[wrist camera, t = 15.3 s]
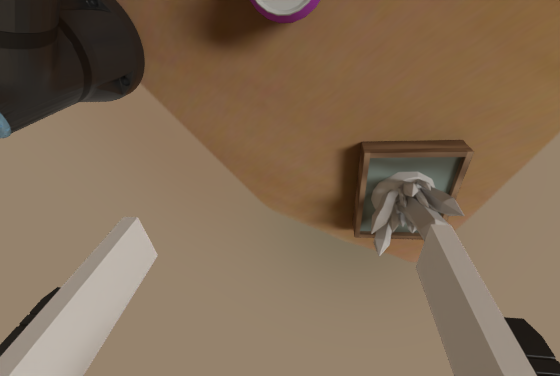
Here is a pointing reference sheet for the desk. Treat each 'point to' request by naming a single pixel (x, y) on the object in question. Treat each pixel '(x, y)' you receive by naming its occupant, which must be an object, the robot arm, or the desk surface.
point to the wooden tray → (407, 158)
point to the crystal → (408, 206)
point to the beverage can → (284, 9)
